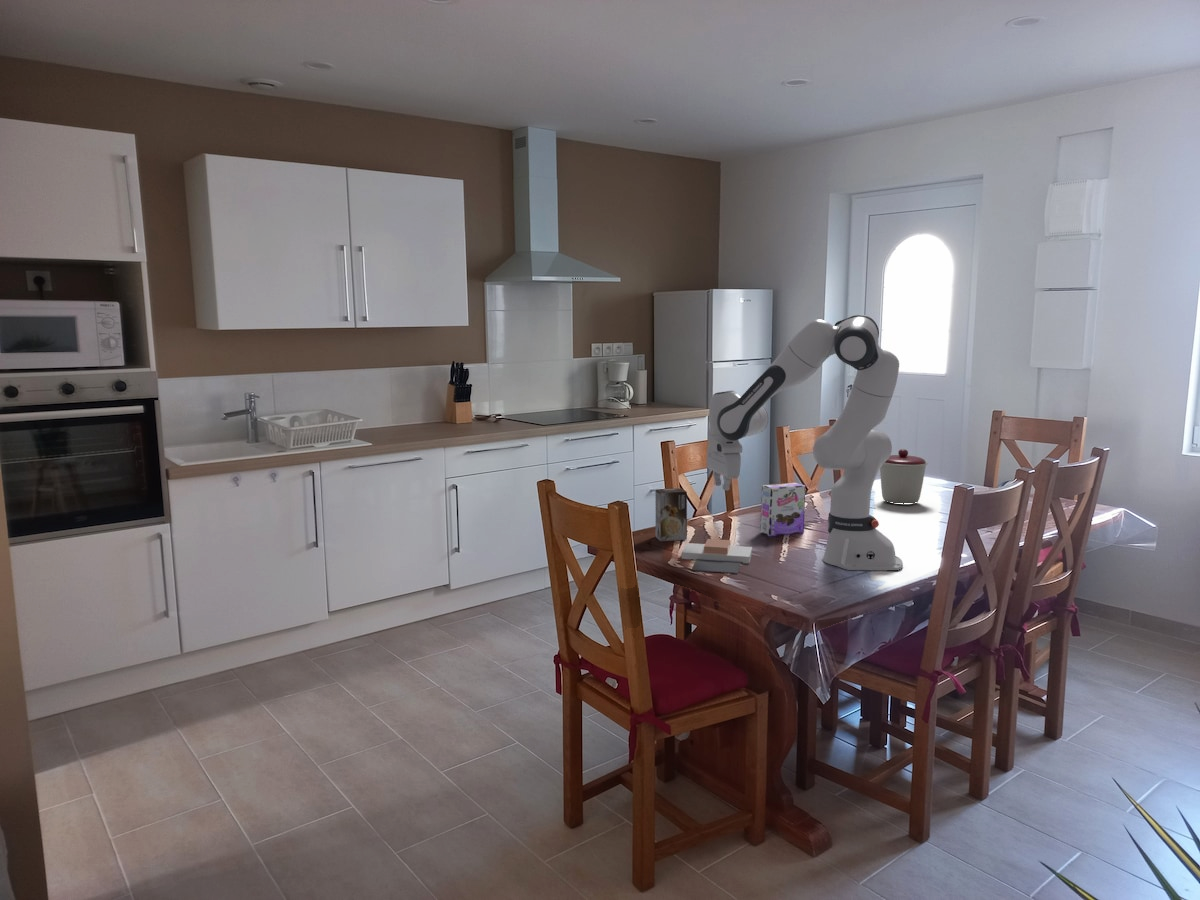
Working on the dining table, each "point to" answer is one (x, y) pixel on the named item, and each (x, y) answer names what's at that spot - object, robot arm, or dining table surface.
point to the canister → (902, 478)
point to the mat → (716, 566)
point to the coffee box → (671, 514)
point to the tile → (717, 546)
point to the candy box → (782, 509)
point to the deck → (733, 555)
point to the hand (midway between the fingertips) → (721, 487)
